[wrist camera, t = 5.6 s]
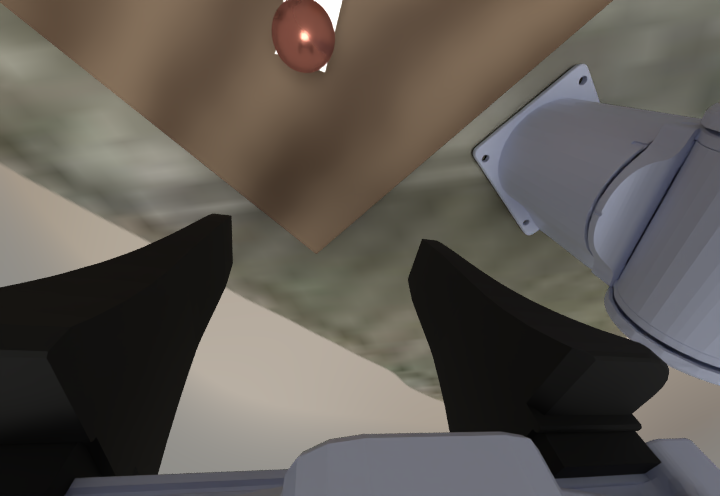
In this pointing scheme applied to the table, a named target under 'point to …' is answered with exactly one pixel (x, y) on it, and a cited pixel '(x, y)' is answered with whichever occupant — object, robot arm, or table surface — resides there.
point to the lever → (305, 33)
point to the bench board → (309, 87)
